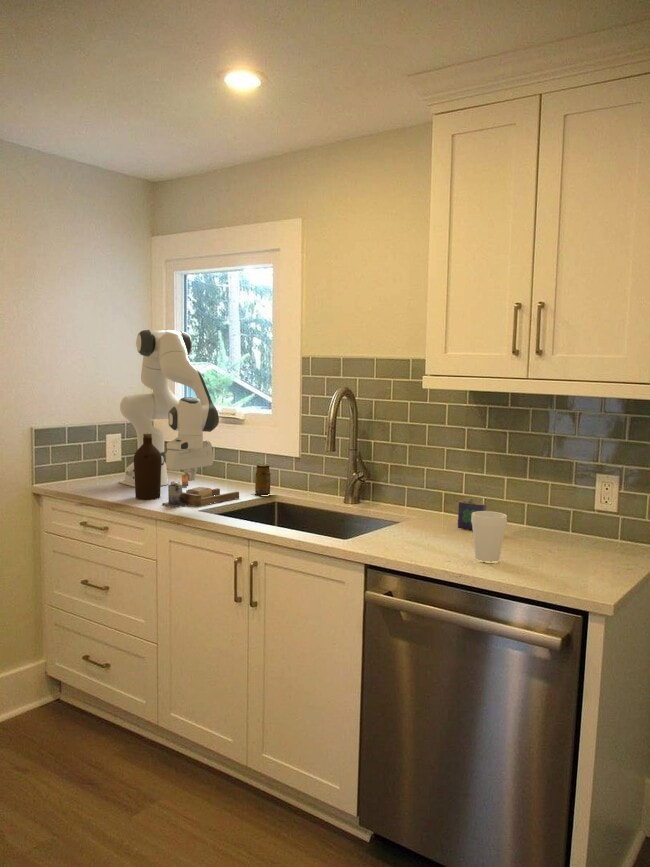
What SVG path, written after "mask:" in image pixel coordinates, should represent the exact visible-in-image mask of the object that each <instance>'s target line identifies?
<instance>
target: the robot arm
mask: <svg viewBox="0 0 650 867" xmlns="http://www.w3.org/2000/svg"><path fill="white" fill-rule="evenodd" d="M135 345H136V346H135V347H136V349H137V352H138V353H139V355H141V356H142V365H141V372H140V380H141V383H142V384H143V385H144V386H145V387H147V388H149V389H150V390H152V393H135V394H134V393H133V394H129V395H125V396H124V397H122V399H121V400H120V401H121V402H120V403H119V404H120V405H119V408H120V412H121V414H122V416H123V417H124V418H125V419H126V420H128V422H130V423H131V425H132V426H133V427H134V430H135V432H136V437H137V438H136V439H137V450H138V449H139V448H140V447H141V446H142V444H143V437H144V436H143V434H152V444H153V445H154V446H155V447H156V448H157V450H158V451H159V452H160V454H161V457H162V464H161V487H162V486H166V485H167V486H168V485H169V482H170V479H169V478H168V471H170V472H177V471H178V472H179V471H183V473H184V475H185V474H186V475H188V482H191V481H195V479H196V474H197V472H198V468H203V467H204V468H205V467H210V466H212V465H214V452H213V449H212V446H213V445H212V443H211V442H210V441H209V440H204V436H203V435H204V433H205V432H207V433H208V432H210V433H211V432H212V431H214V430H215V429H216V428H218V425H219V422H220V417H219V412H218V409H217V407H216V405H215V404H214V403H213V400H212V398H211V395H210V393H209V389H208V388H207V384H206V382H205V380H204V377H203V375H202V373H201V371H200V370H199V369H198V368H196V367H195V366H194V365H193V364H192V363H191V361H190V358H189V355H190V353H191V352H192V348H193V341H192V337H191V335H190V334H189V333H188V332H185V331H181V330H179V331H178V330H171V329H151V330H150V329H144V330H141V331H140V332H139V333H138V334H137V337H136V339H135ZM169 380H170V381H171V382H174V383H176V384H177V383H178V384H180V385H183V386H186V387H188V388H189V389H192V390H193V391H194V394H195V396H196V397H193V396H192V397H191V396H188V397H187V396H186V397H182V398H180V399H179V397H178V396H177V395H176V394H174V393H173V391H172V389H171V388H170V386H169V385H170V384H169ZM152 420H168V427H170V428H171V429H172V430H173V431H174V432H175V431H176V432H178V433H177V437H176V438H174V439H172V440H171V441H168V442H167V443H166V448H167V451H166V450H165V434H164V432H163V431H162V430H161V429H159V428H157V427H155V426H153V424H152ZM203 432H204V433H203ZM133 454H134V455H135V452H133ZM118 483H119V484H123V485H127V486H130V487H134V488H135V475H134V461H133V462H132V463H131V464H129V465H128V466H127V467H126V468H125V470H124V478H121V479H119V480H118Z"/></svg>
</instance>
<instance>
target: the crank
mask: <svg viewBox="0 0 650 867" xmlns="http://www.w3.org/2000/svg"><path fill="white" fill-rule="evenodd" d="M170 485H176V486H179V487H182V489H187V488H188V487H189V481H188V475H186V474H185V473H184V474H182V475H181V482H180V481H178V480H177V481H175V480H174V481H170Z"/></svg>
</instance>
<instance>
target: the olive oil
mask: <svg viewBox="0 0 650 867" xmlns="http://www.w3.org/2000/svg"><path fill="white" fill-rule="evenodd" d="M143 436H144V437H143V444H142V446H141V447H140V448H139V449H138V448H137V450H136V451H135V452H134V453H135V454H134V455H133V462H134V475H135V487H134V490H135V491H134V492H135V493H134V494H135V499H137V500H141V501H151V499H153V500H158V499H160V498H161V489H162V488H161V487H162V486H161V464H162V457H161V454H160V452H159V451H158V450H157V448H156V447H155V446H154V445H153V444H152V434H143ZM157 498H158V499H157Z"/></svg>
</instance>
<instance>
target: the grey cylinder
mask: <svg viewBox="0 0 650 867" xmlns="http://www.w3.org/2000/svg"><path fill="white" fill-rule="evenodd" d="M167 486H168V498H167V499H168V501H166V502H162V506H164V505H165V506H166V507H169V506H170V507H169V508H174V507H177V508H181V507H180V506H182V507H185V505H187V506H189V505H188V503H185V502H182V500H183V498H182V492H183V488H182V487H179V486H176V485H171V484H167ZM165 506H164V507H165Z"/></svg>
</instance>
